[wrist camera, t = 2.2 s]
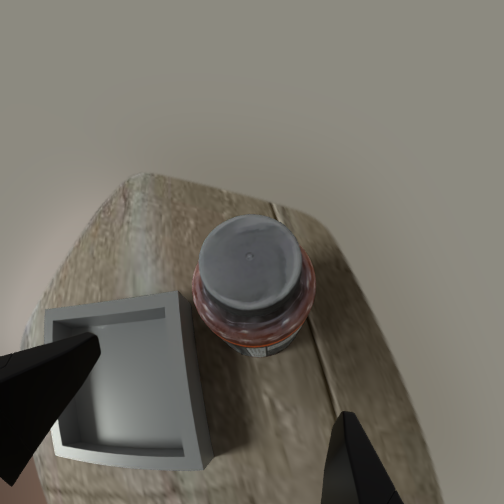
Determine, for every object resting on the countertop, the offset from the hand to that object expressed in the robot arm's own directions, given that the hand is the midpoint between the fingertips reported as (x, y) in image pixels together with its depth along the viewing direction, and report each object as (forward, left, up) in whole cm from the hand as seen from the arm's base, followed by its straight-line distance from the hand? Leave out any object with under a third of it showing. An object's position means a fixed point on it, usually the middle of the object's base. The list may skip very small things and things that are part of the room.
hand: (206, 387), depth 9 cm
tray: (+1, +9, -11) cm, 15 cm away
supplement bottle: (+5, -2, -12) cm, 13 cm away
